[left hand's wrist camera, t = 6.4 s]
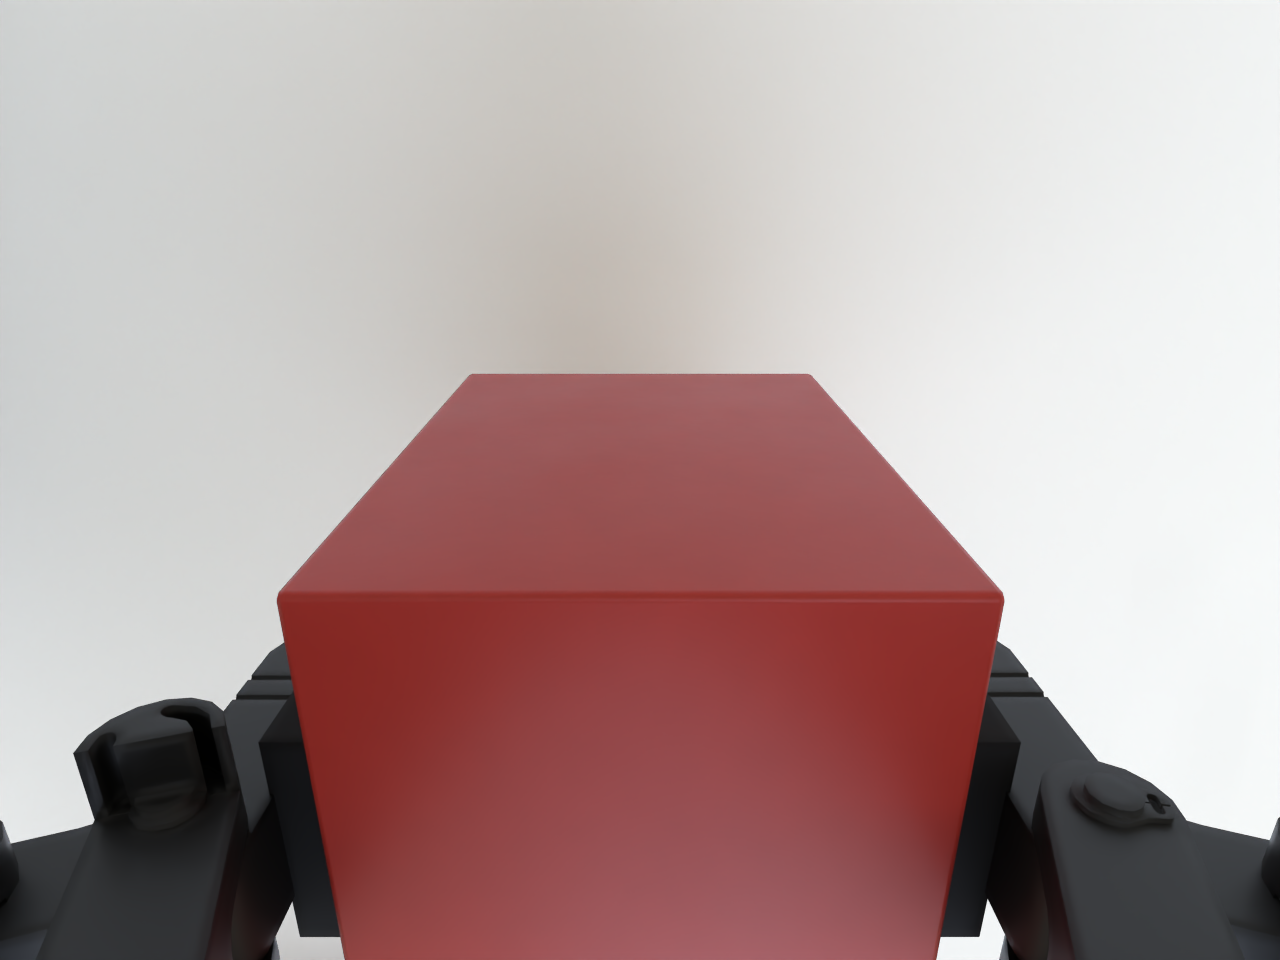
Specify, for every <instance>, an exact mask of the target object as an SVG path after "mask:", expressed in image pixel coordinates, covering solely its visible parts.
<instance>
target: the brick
mask: <svg viewBox="0 0 1280 960" xmlns="http://www.w3.org/2000/svg"><path fill="white" fill-rule="evenodd" d="M277 605H278V611H279V616H280V621H281V626H282V632H283V637H284V642H285V648H286V653H287V658H288V663H289V669H290V674H291V679H292V684H293V690H294V695H295V700H296V705H297V711H298V716H299V721H300V727H301V732H302V737H303V742H304V748H305V753H306V758H307V763H308V769H309V774H310V779H311V784H312V790H313V795H314V800H315V806H316V811H317V816H318V821H319V827H320V832H321V837H322V842H323V848H324V853H325V858H326V863H327V869H328V874H329V879H330V885H331V890H332V895H333V900H334V906H335V911H336V916H337V921H338V927H339V932H340V937H341V942H342V948H343V953H344V958H345V960H936V958H937V953H938V947H939V942H940V937H941V932H942V926H943V921H944V916H945V911H946V905H947V900H948V895H949V890H950V884H951V879H952V874H953V869H954V863H955V858H956V853H957V848H958V842H959V837H960V832H961V827H962V821H963V816H964V811H965V806H966V800H967V795H968V790H969V785H970V779H971V774H972V769H973V764H974V758H975V753H976V748H977V743H978V737H979V732H980V727H981V722H982V716H983V711H984V706H985V701H986V695H987V690H988V685H989V680H990V674H991V669H992V664H993V659H994V653H995V648H996V643H997V638H998V632H999V627H1000V622H1001V617H1002V611H1003V606H1004V596H1003V593H1002V591H1001V590H1000V589H999V588H998V587H997V586H996V585H995V583H994V582H993V581H992V580H991V579H990V578H989V577H988V576H987V574H986V573H985V572H984V571H983V570H982V569H981V568H980V566H979V565H978V564H977V563H976V562H975V561H974V560H973V558H972V557H971V556H970V555H969V554H968V553H967V552H966V551H965V549H964V548H963V547H962V546H961V545H960V544H959V543H958V541H957V540H956V539H955V538H954V537H953V536H952V535H951V534H950V532H949V531H948V530H947V529H946V528H945V527H944V526H943V524H942V523H941V522H940V521H939V520H938V519H937V518H936V516H935V515H934V514H933V513H932V512H931V511H930V510H929V509H928V507H927V506H926V505H925V504H924V503H923V502H922V501H921V499H920V498H919V497H918V496H917V495H916V494H915V493H914V492H913V490H912V489H911V488H910V487H909V486H908V485H907V484H906V482H905V481H904V480H903V479H902V478H901V477H900V476H899V474H898V473H897V472H896V471H895V470H894V469H893V468H892V467H891V465H890V464H889V463H888V462H887V461H886V460H885V459H884V457H883V456H882V455H881V454H880V453H879V452H878V451H877V450H876V448H875V447H874V446H873V445H872V444H871V443H870V442H869V440H868V439H867V438H866V437H865V436H864V435H863V434H862V432H861V431H860V430H859V429H858V428H857V427H856V426H855V425H854V423H853V422H852V421H851V420H850V419H849V418H848V417H847V415H846V414H845V413H844V412H843V411H842V410H841V409H840V408H839V406H838V405H837V404H836V403H835V402H834V401H833V400H832V398H831V397H830V396H829V395H828V394H827V393H826V392H825V390H824V389H823V388H822V387H821V386H820V385H819V384H818V383H817V381H816V380H815V379H814V378H813V377H812V376H811V375H809V374H471V375H469V376H468V377H467V379H466V380H465V381H464V382H463V383H462V384H461V385H460V387H459V388H458V389H457V390H456V391H455V392H454V393H453V394H452V396H451V397H450V398H449V399H448V400H447V401H446V402H445V404H444V405H443V406H442V407H441V408H440V409H439V410H438V412H437V413H436V414H435V415H434V416H433V417H432V418H431V420H430V421H429V422H428V423H427V424H426V425H425V426H424V428H423V429H422V430H421V431H420V432H419V433H418V434H417V436H416V437H415V438H414V439H413V440H412V441H411V442H410V443H409V445H408V446H407V447H406V448H405V449H404V450H403V451H402V453H401V454H400V455H399V456H398V457H397V458H396V459H395V461H394V462H393V463H392V464H391V465H390V466H389V467H388V469H387V470H386V471H385V472H384V473H383V474H382V475H381V477H380V478H379V479H378V480H377V481H376V482H375V483H374V484H373V486H372V487H371V488H370V489H369V490H368V491H367V492H366V494H365V495H364V496H363V497H362V498H361V499H360V500H359V502H358V503H357V504H356V505H355V506H354V507H353V508H352V510H351V511H350V512H349V513H348V514H347V515H346V516H345V518H344V519H343V520H342V521H341V522H340V523H339V524H338V526H337V527H336V528H335V529H334V530H333V531H332V532H331V533H330V535H329V536H328V537H327V538H326V539H325V540H324V541H323V543H322V544H321V545H320V546H319V547H318V548H317V549H316V551H315V552H314V553H313V554H312V555H311V556H310V557H309V559H308V560H307V561H306V562H305V563H304V564H303V565H302V567H301V568H300V569H299V570H298V571H297V572H296V573H295V574H294V576H293V577H292V578H291V579H290V580H289V581H288V582H287V584H286V585H285V586H284V587H283V588H282V589H281V590H280V592H279V593H278V597H277Z"/></svg>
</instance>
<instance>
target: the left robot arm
mask: <svg viewBox="0 0 1280 960" xmlns="http://www.w3.org/2000/svg"><path fill="white" fill-rule="evenodd" d="M1043 693H1044V692H1043V691H1042V689H1041V688H1040V687H1039V686H1038V684H1037V683H1036V682H1035V681H1034V679H1033V678H1032V677H1029V676H1028V672H1027V670H1026V669H1025V668H1024V667H1023V665H1022V664H1021V663H1020V662H1019V660H1018V659H1017V658H1016V657H1015V655H1014V654H1013V653H1012V651H1011V650H1010V649H1008V648H1007V647H1005V646H1004V645H1002V644H1001V643H999V642H998V641H997V643H996V648H995V653H994V659H993V664H992V669H991V674H990V680H989V685H988V690H987V695H986V701H985V706H984V711H983V716H982V722H981V727H980V732H979V737H978V743H977V748H976V753H975V758H974V764H973V769H972V774H971V779H970V785H969V790H968V795H967V800H966V806H965V811H964V816H963V821H962V827H961V832H960V837H959V842H958V848H957V853H956V858H955V863H954V869H953V874H952V879H951V884H950V890H949V895H948V900H947V905H946V911H945V916H944V921H943V926H942V932H941V937H979V936H980V931H981V927H982V922H983V917H984V913H985V908H986V903H987V899H988V900H989V902H990V904H991V906H992V908H993V910H994V913H995V915H996V917H997V919H998V921H999V923H1000V925H1001V927H1002V929H1003V931H1004V933H1005V937H1004V941H1003V946H1002V950H1001V954H1000V959H999V960H1280V817H1279V818H1278V820H1277V823H1276V825H1275V828H1274V831H1273V833H1272V836H1271V839H1270V840H1266V839H1261V838H1257V837H1252V836H1248V835H1244V834H1239V833H1235V832H1230V831H1226V830H1221V829H1217V828H1213V827H1208V826H1204V825H1200V824H1197V823H1193V822H1190V821H1186V819H1185V818H1184V816H1183V815H1182V813H1181V812H1180V810H1179V809H1178V808H1177V806H1176V805H1175V803H1174V802H1173V800H1172V799H1170V798H1169V797H1168V796H1167V795H1165V794H1164V793H1163V792H1162V791H1160V790H1159V789H1158V788H1157V787H1156V786H1154V785H1153V784H1152V783H1150V782H1148V781H1146V780H1145V779H1143V778H1141V777H1139V776H1137V775H1135V774H1133V773H1131V772H1129V771H1127V770H1125V769H1122V768H1119V767H1115V766H1112V765H1109V764H1105V763H1102V762H1099V761H1098V760H1097V759H1096V758H1095V757H1094V755H1093V754H1092V753H1091V752H1090V750H1089V749H1088V748H1087V747H1086V745H1085V744H1084V743H1083V741H1082V740H1081V739H1080V738H1079V736H1078V735H1077V734H1076V733H1075V731H1074V730H1073V729H1072V728H1071V726H1070V725H1069V724H1068V722H1067V721H1066V720H1065V719H1064V717H1063V716H1062V715H1061V714H1060V712H1059V711H1058V710H1057V709H1056V707H1055V706H1054V705H1053V703H1052V702H1051V701H1050V700H1049V698H1048V697H1044V694H1043ZM236 696H237V697H236V700H232V701H231V702H230V704H229V705H228V706H227V708H226V709H225V710H224V711H222V710H221V709H220V708H219V707H217V706H216V705H215V704H214V703H213V702H210V701H205V700H200V699H196V698H181V699H167V700H163V701H159V702H155V703H151V704H147V705H144V706H140V707H137V708H135V709H132V710H130V711H128V712H126V713H124V714H121V715H119V716H117V717H115V718H113V719H110V720H109V721H108V722H106V723H105V724H103V725H102V726H101V727H99V728H98V729H96V730H95V731H93V732H92V733H91V734H89V735H88V736H87V737H86V738H85V739H84V741H83V742H82V743H81V744H80V746H79V747H78V748H77V749H76V751H75V752H74V753H73V754H74V757H75V760H76V763H77V766H78V770H79V773H80V776H81V779H82V782H83V785H84V788H85V791H86V794H87V798H88V801H89V804H90V807H91V810H92V813H93V816H94V819H95V820H94V823H93V824H92V825H88V826H85V827H81V828H78V829H73V830H69V831H65V832H60V833H56V834H51V835H47V836H43V837H38V838H34V839H29V840H25V841H21V842H16V843H12V844H11V843H10V841H9V838H8V835H7V833H6V830H5V827H4V825H3V822H2V821H0V960H280V956H279V950H278V946H277V941H276V937H275V936H276V934H277V932H278V930H279V928H280V926H281V924H282V922H283V920H284V917H285V915H286V913H287V911H288V909H289V907H290V905H291V903H292V901H293V906H294V911H295V915H296V920H297V925H298V929H299V934H300V937H340V932H339V927H338V921H337V916H336V911H335V906H334V900H333V895H332V890H331V885H330V879H329V874H328V869H327V863H326V858H325V853H324V848H323V842H322V837H321V832H320V827H319V821H318V816H317V811H316V806H315V800H314V795H313V790H312V784H311V779H310V774H309V769H308V763H307V758H306V753H305V748H304V742H303V737H302V732H301V727H300V721H299V716H298V711H297V705H296V700H295V695H294V690H293V684H292V679H291V674H290V669H289V663H288V658H287V653H286V648H285V642H284V643H283V644H281V645H280V646H278V647H277V648H275V649H274V650H272V651H271V652H270V653H269V654H268V655H267V657H266V658H265V659H264V660H263V662H262V663H261V664H260V665H259V667H258V668H257V669H256V671H255V672H254V673H253V674H252V679H251V680H248V681H247V682H246V683H245V685H244V686H243V687H242V688H241V690H240V691H239V692H238V694H237V695H236Z"/></svg>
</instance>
